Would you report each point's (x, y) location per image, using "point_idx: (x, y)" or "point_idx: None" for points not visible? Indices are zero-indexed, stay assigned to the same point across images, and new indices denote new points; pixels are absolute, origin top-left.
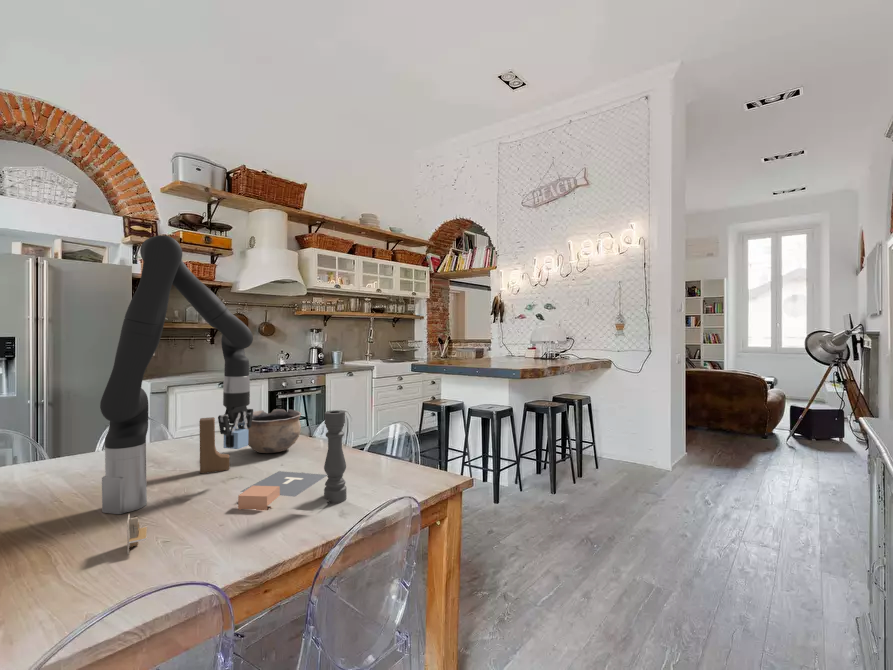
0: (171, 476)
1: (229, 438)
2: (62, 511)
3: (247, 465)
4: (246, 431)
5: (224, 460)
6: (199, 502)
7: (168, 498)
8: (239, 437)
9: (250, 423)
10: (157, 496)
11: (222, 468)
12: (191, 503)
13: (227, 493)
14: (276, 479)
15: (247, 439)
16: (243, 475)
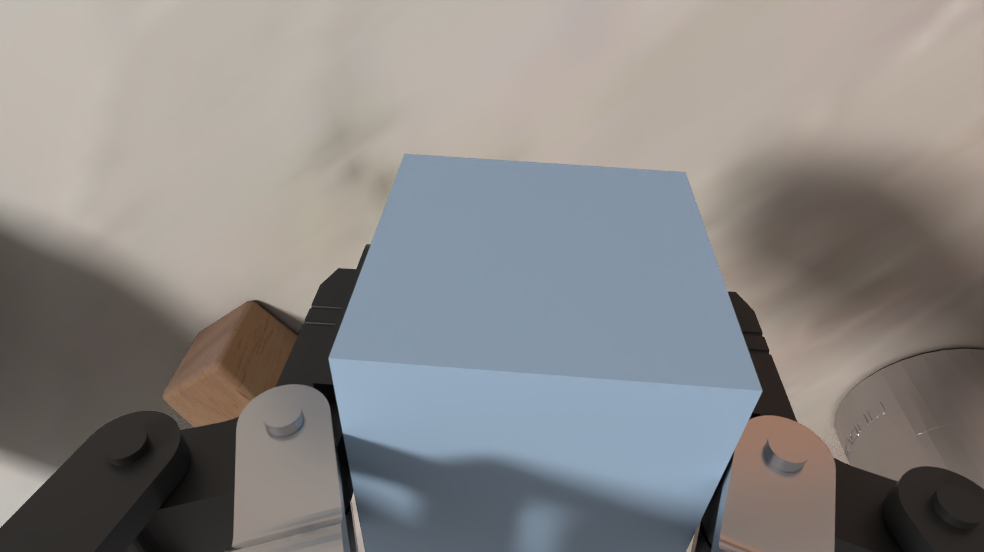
0: None
1: (784, 399)
2: None
3: (107, 248)
4: (415, 337)
5: (250, 367)
6: (937, 98)
7: (807, 318)
8: (673, 294)
9: (68, 500)
10: None
11: (279, 334)
12: (946, 141)
13: (738, 4)
14: None
15: (411, 214)
16: (299, 147)
